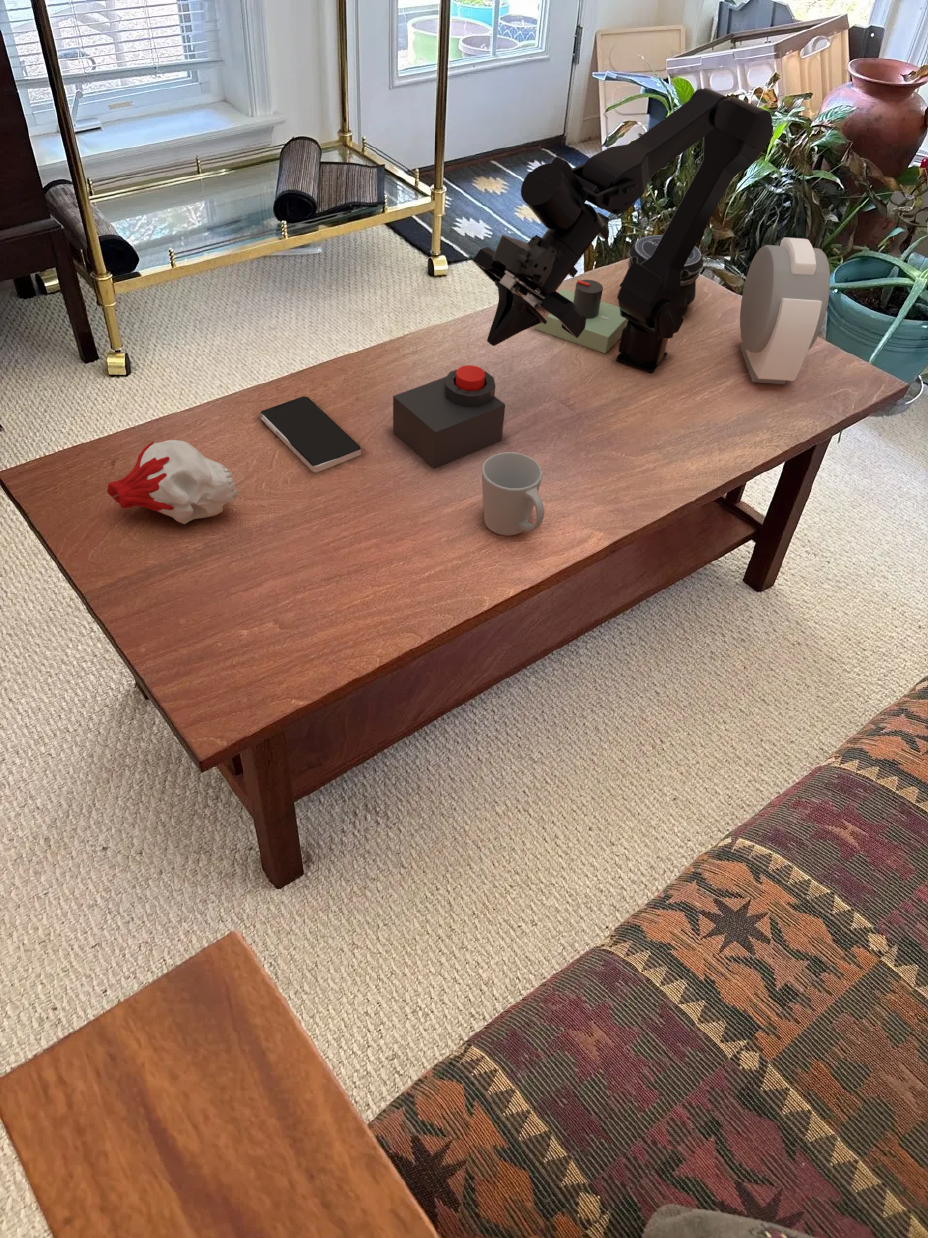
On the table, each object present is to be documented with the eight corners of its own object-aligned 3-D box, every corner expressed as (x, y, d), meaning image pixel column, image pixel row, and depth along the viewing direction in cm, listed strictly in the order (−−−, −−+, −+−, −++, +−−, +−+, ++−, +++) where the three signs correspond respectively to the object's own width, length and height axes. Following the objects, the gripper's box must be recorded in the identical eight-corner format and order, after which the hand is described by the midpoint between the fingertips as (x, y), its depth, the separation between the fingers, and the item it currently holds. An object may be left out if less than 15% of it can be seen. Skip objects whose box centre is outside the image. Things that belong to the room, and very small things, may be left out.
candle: (246, 517, 121) (129, 555, 117) (225, 464, 127) (114, 499, 124) (229, 462, 114) (104, 501, 110) (207, 410, 120) (89, 445, 117)
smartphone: (312, 467, 127) (257, 411, 135) (313, 474, 128) (258, 418, 136) (363, 447, 131) (306, 394, 139) (363, 454, 132) (307, 401, 140)
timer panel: (629, 327, 160) (633, 310, 157) (605, 353, 154) (608, 336, 151) (561, 304, 164) (563, 287, 161) (534, 328, 158) (536, 311, 155)
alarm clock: (799, 398, 148) (845, 275, 133) (745, 394, 148) (785, 271, 133) (776, 337, 160) (815, 218, 145) (726, 334, 160) (760, 215, 145)
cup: (510, 496, 127) (516, 444, 121) (558, 538, 122) (568, 486, 116) (465, 516, 124) (469, 464, 118) (513, 560, 119) (520, 508, 113)
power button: (472, 372, 134) (473, 361, 132) (490, 386, 132) (491, 375, 130) (449, 381, 132) (450, 370, 131) (467, 395, 130) (467, 384, 128)
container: (698, 296, 168) (712, 241, 161) (683, 330, 160) (697, 274, 153) (629, 280, 171) (639, 225, 164) (610, 312, 163) (620, 256, 155)
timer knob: (602, 310, 157) (607, 282, 154) (591, 321, 154) (596, 293, 151) (579, 302, 158) (583, 274, 155) (567, 313, 156) (571, 285, 152)
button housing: (464, 404, 141) (468, 357, 136) (506, 438, 136) (512, 391, 130) (392, 432, 136) (393, 384, 130) (433, 469, 130) (435, 420, 125)
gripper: (488, 185, 124) (417, 285, 127) (583, 242, 115) (504, 349, 118) (527, 231, 134) (460, 323, 137) (618, 287, 124) (544, 385, 127)
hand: (490, 343), depth 129 cm, fingers closed
